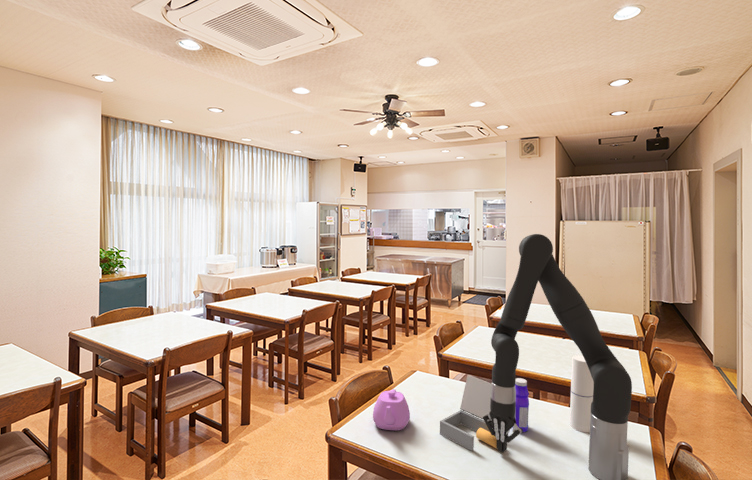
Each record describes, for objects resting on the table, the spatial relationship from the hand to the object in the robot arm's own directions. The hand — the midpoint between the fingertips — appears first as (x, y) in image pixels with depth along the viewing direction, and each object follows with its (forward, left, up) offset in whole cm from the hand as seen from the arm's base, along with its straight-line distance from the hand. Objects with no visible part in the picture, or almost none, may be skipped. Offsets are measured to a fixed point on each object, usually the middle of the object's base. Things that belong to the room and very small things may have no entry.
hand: (501, 451), depth 118 cm
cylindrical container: (-10, -37, -1) cm, 39 cm away
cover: (+14, -8, +10) cm, 18 cm away
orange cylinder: (+6, -1, 0) cm, 6 cm away
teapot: (+35, +15, -1) cm, 38 cm away
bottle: (+4, -19, -1) cm, 20 cm away
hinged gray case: (+14, 0, -1) cm, 14 cm away
